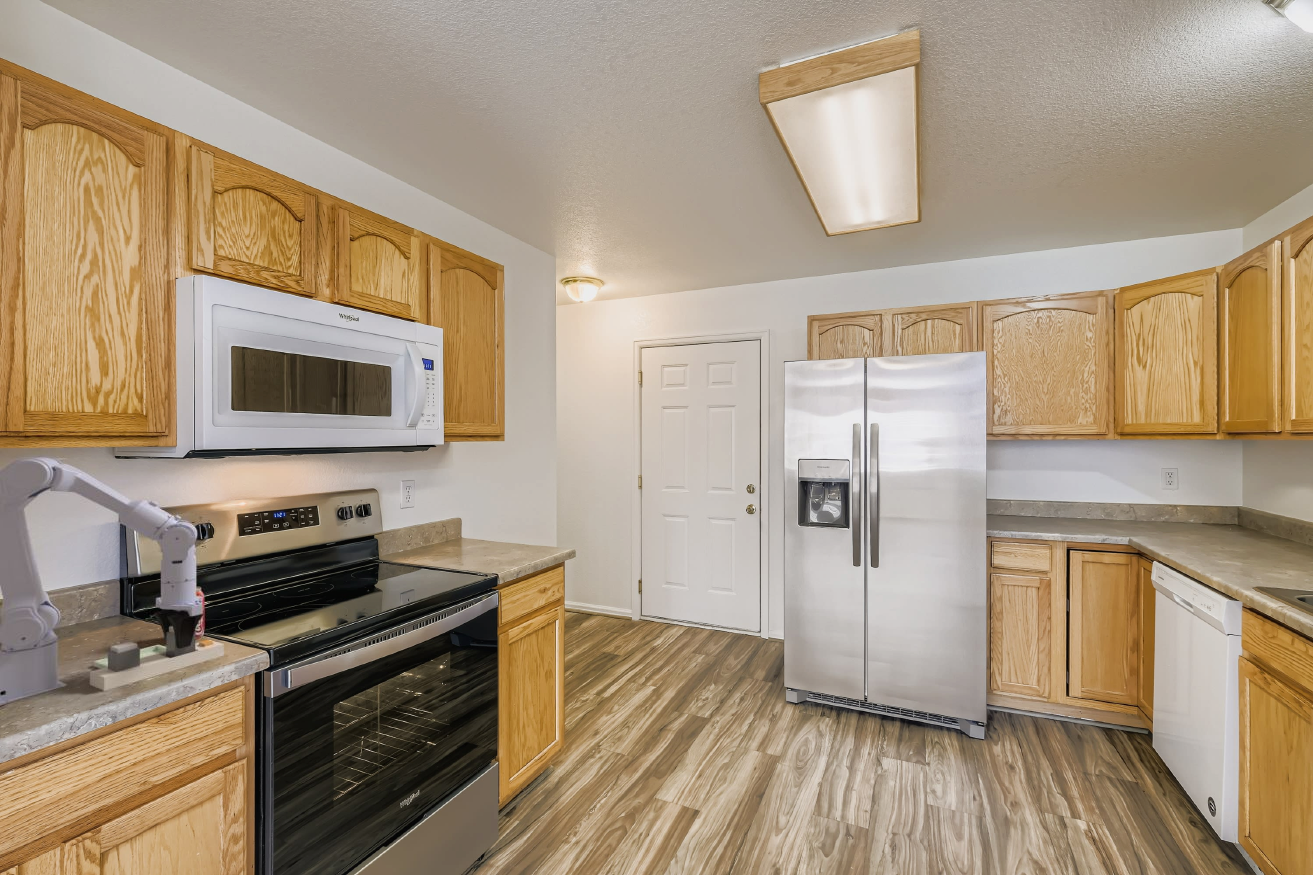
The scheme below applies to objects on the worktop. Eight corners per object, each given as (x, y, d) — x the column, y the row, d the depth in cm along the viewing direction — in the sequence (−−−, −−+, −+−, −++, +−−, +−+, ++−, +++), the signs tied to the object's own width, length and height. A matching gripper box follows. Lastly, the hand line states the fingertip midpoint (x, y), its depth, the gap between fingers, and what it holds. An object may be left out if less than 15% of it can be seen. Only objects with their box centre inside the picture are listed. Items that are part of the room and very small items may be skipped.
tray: (118, 678, 116) (118, 670, 116) (93, 668, 121) (93, 661, 121) (184, 659, 126) (184, 652, 126) (158, 651, 131) (158, 644, 131)
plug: (174, 658, 120) (175, 629, 120) (165, 655, 121) (166, 626, 121) (195, 653, 123) (195, 624, 123) (186, 650, 124) (186, 622, 125)
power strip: (104, 693, 109) (104, 654, 109) (89, 687, 112) (90, 649, 112) (223, 657, 127) (224, 624, 127) (209, 653, 129) (209, 620, 129)
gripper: (219, 579, 122) (219, 644, 122) (183, 572, 129) (183, 634, 129) (179, 587, 116) (179, 655, 116) (143, 579, 122) (143, 644, 122)
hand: (178, 645), depth 122 cm, fingers closed on plug, 4 cm apart
